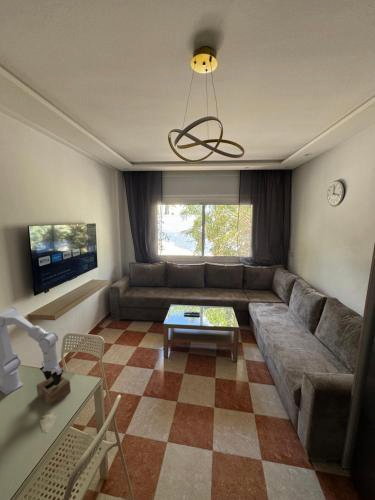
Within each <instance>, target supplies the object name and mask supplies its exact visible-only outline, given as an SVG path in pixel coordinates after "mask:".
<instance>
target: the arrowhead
mask: <svg viewBox="0 0 375 500" xmlns="http://www.w3.org/2000/svg"><path fill="white" fill-rule="evenodd" d="M57 418H58V413H55V412H52V413H50V414H46V415H43V416H42V419H40V420H39V424H40V428H41V429H40V430H41V432H42V434H45V435H46V434H48V433H49V432H50V431H51V430H52V429H53V427H54V424H55V422H56V419H57Z"/></svg>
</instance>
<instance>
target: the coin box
mask: <svg viewBox="0 0 375 500" xmlns="http://www.w3.org/2000/svg"><path fill="white" fill-rule="evenodd" d="M53 385H54V386H53ZM52 386H53V387H52ZM50 387H51V388H50ZM49 388H50V389H49ZM36 392H37V396H38V397H39V398H40V399H42V400H43V401H45V402H46V403H47V404H48V405H50V406H53V405H54V404H55V403H57V402H58V401H59V400H61V399H62V398H64V397H65V396H67V395H68V394H69V393H70V392H71V382H70V380H68V379H66V377H63V375H62V376H61V379H60V383H59V384H58V385H56V386H55V384H54V381H53V378H52V377H51V378H50V379H48V380H46V379H44V380H42V381H41V382H39V383H38V384H36Z"/></svg>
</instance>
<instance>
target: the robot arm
mask: <svg viewBox="0 0 375 500" xmlns="http://www.w3.org/2000/svg"><path fill="white" fill-rule="evenodd" d="M12 325H14V326H17V328H18V327H19V328H20V329H22V330H24V331H25V332H27V336H28V337H30V338H31V339H33V340H34V341H35V342H37V343H38V346H39V347H38V348H40V349H41V352H42V356H43V360H42V361H40V362H41V366H42V367H40V368H39V370H40V371H41V372H42V373H43V376H44V377H45V380H48V379H50V378H51V377H52V378H53V381H54V384H55V386H56V385H58V384H59V383H60V379H61V376H62V377H63V374H64V371H65V370H64V369H63V368H62V367H60V365H59V362H58V355H57V354H58V353H57V352H58V351H57V345H56V343H57V342H58V340H59V336H58V335H57V334H56V333H55V332H54V331H47V330H46V329H45V328H43V327H41V326H40V325H38V324H37V325H33V323H31V322H30V321H29V320H28V319H26V318H25V317H24V316H22V313H21V310H19V309H18V308H17V307H16V306H11V307H9V308H7V309H5V310H2V311H1V312H0V391H1V393H3V394H4V395H6V396H7V395H9V394H11V393H12V392H14V391H15V390H17V389H19V388H21V387H22V386H24V383H23V382H21V380H20V375H19V368H20V366H21V364H22V360H21V358H20V357H19V354H18V353H16V352H14V351H13V348H12V343H11V338H10V334H9V329H8V326H12ZM52 372H53V373H52Z"/></svg>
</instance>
